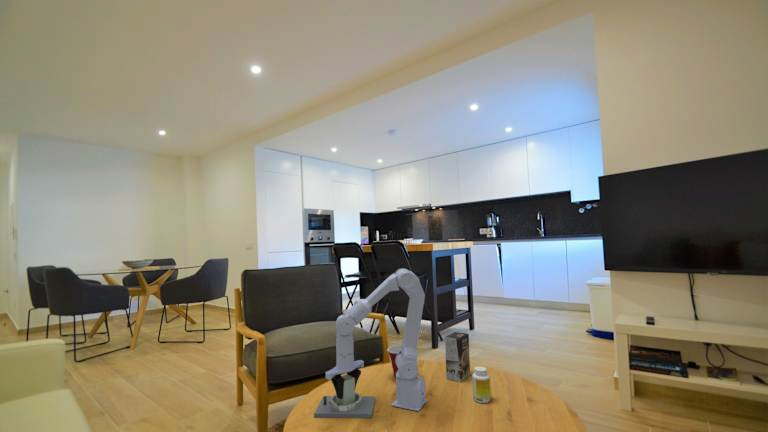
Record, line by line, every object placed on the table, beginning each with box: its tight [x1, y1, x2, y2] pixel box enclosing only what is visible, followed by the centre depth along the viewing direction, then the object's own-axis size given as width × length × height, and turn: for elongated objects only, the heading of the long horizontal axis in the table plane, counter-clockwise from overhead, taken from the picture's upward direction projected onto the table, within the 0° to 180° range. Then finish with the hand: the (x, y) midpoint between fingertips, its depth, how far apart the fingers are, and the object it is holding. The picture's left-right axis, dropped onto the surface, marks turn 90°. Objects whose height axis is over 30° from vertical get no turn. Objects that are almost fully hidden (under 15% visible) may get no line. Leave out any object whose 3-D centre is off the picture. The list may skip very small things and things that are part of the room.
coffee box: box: [444, 331, 471, 383], centre depth 136 cm, size 9×6×16 cm
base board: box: [313, 395, 377, 419], centre depth 113 cm, size 18×12×1 cm, turn 86°
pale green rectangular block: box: [335, 373, 356, 405], centre depth 114 cm, size 4×5×8 cm
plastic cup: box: [386, 343, 402, 380], centre depth 136 cm, size 11×11×12 cm
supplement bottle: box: [471, 366, 491, 404], centre depth 117 cm, size 6×6×10 cm
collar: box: [322, 391, 363, 412], centre depth 113 cm, size 13×10×2 cm
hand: (345, 395), depth 113 cm, fingers closed on pale green rectangular block, 4 cm apart
